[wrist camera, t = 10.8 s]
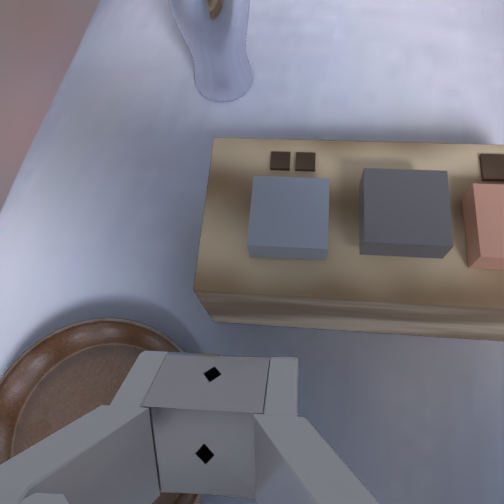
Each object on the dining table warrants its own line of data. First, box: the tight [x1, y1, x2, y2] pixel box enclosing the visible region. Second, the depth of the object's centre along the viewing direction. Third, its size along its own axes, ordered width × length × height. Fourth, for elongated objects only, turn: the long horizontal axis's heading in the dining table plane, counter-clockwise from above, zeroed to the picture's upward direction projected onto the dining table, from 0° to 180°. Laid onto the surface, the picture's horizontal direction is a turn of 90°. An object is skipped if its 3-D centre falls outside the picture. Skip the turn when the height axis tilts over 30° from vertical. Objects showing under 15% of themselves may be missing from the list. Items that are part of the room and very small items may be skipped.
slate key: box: [247, 176, 330, 261], centre depth 30 cm, size 5×5×2 cm
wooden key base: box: [193, 137, 504, 341], centre depth 35 cm, size 12×26×9 cm, turn 85°
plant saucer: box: [0, 318, 202, 504], centre depth 34 cm, size 18×18×3 cm
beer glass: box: [168, 0, 253, 102], centre depth 41 cm, size 7×7×15 cm
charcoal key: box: [359, 168, 454, 259], centre depth 28 cm, size 5×5×2 cm
